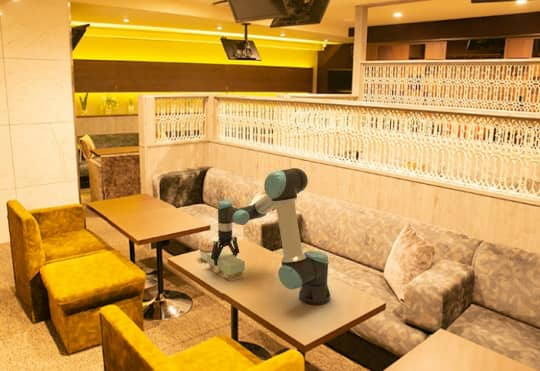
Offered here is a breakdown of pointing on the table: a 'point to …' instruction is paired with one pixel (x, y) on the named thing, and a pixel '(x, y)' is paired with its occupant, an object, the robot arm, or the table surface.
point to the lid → (228, 263)
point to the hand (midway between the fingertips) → (225, 268)
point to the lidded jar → (205, 251)
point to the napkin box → (225, 275)
